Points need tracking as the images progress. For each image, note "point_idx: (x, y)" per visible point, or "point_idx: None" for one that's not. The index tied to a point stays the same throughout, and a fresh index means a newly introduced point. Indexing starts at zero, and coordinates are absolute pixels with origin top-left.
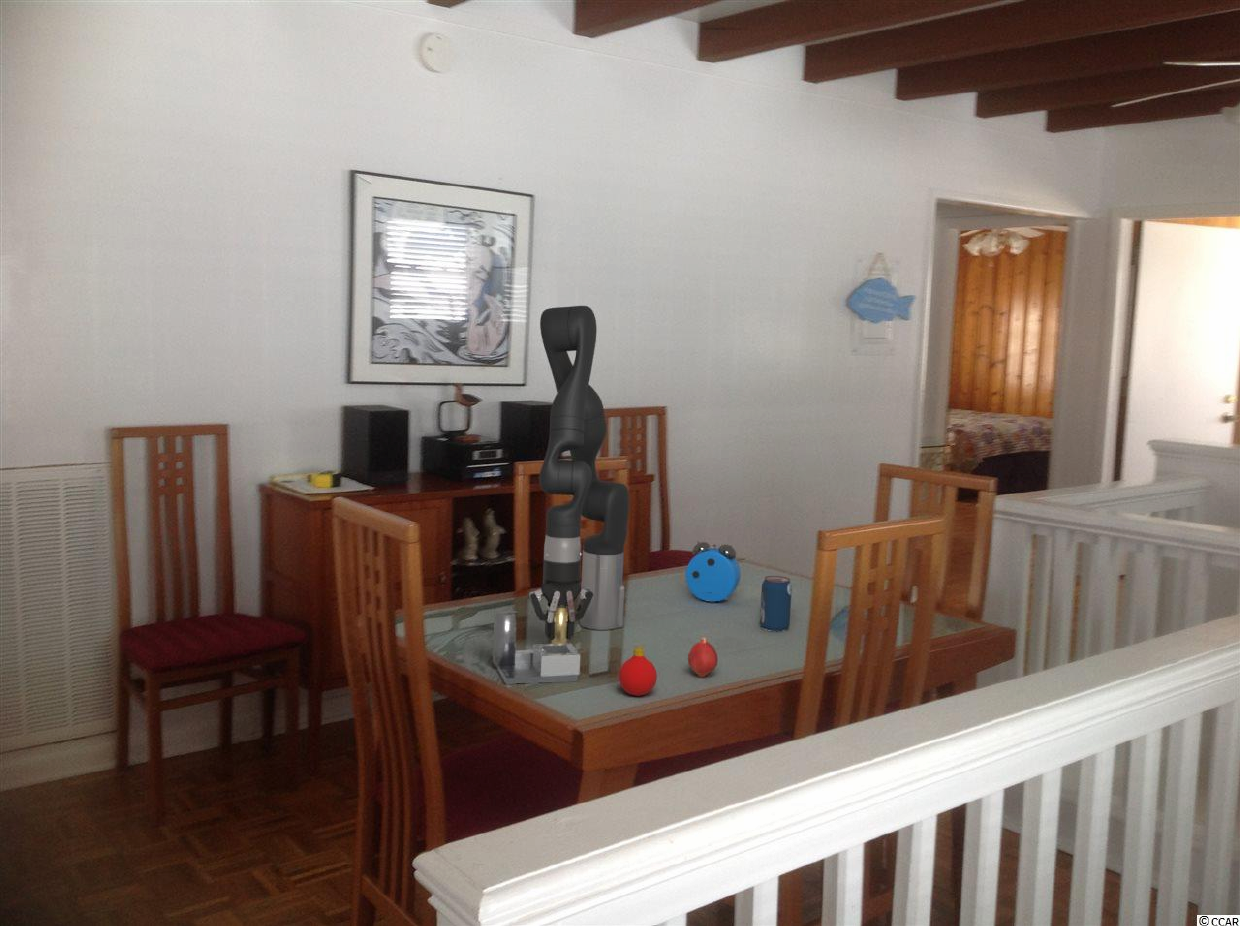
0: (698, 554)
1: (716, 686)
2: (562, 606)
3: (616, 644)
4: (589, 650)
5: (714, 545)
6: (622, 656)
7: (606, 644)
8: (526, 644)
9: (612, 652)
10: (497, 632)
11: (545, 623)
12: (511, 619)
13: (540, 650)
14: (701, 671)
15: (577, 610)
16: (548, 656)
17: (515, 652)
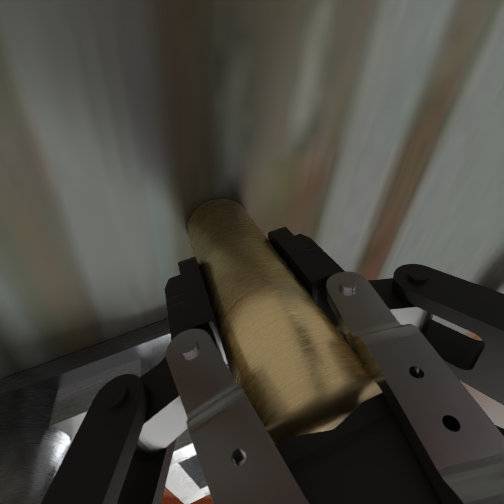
0: None
1: (469, 332)
2: (336, 424)
3: (466, 38)
4: (340, 145)
5: None
6: (414, 201)
7: (431, 38)
8: (4, 46)
9: (405, 161)
10: None
11: (172, 337)
12: None
13: (178, 485)
14: None
15: (425, 307)
16: (205, 493)
17: (70, 444)
